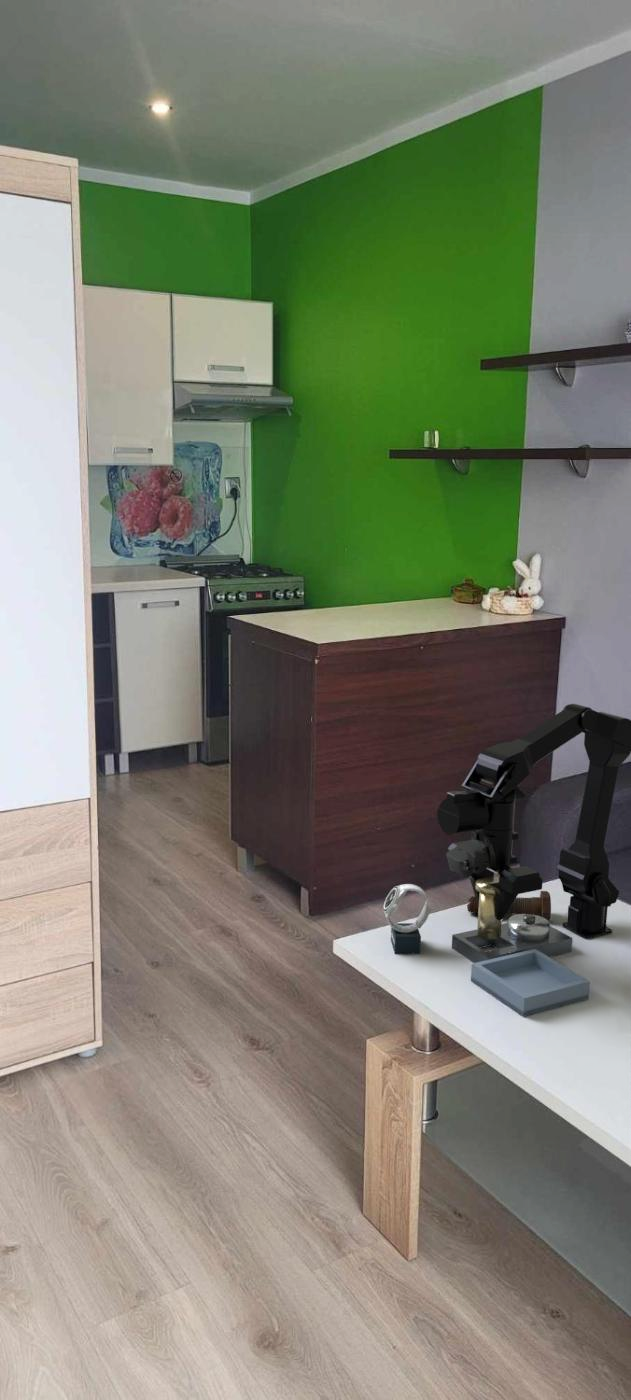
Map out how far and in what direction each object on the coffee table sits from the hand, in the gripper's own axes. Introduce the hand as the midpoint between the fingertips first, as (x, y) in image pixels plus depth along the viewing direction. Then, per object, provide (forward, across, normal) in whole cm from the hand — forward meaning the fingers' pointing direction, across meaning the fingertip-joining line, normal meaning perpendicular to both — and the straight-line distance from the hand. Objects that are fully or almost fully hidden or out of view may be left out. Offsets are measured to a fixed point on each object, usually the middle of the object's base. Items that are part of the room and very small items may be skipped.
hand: (490, 914), depth 179 cm
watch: (+8, -9, -11) cm, 16 cm away
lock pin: (+4, 0, 0) cm, 4 cm away
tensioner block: (+7, 0, +5) cm, 9 cm away
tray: (+7, +13, -2) cm, 15 cm away
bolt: (+8, -12, +14) cm, 20 cm away
